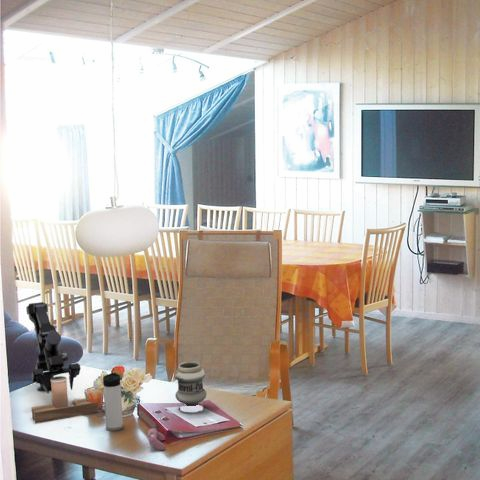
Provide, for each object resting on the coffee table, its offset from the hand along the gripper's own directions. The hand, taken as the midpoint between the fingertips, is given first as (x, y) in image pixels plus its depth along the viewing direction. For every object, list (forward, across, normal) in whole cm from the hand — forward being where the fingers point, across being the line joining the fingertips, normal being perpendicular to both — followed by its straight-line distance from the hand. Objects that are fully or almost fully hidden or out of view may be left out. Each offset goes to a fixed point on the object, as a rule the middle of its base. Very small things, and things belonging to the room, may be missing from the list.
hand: (60, 391), depth 319 cm
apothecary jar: (+23, +46, -12) cm, 53 cm away
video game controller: (+43, +22, -32) cm, 58 cm away
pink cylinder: (+4, 0, +6) cm, 8 cm away
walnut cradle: (+10, 0, 0) cm, 10 cm away
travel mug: (+26, +13, -16) cm, 34 cm away
